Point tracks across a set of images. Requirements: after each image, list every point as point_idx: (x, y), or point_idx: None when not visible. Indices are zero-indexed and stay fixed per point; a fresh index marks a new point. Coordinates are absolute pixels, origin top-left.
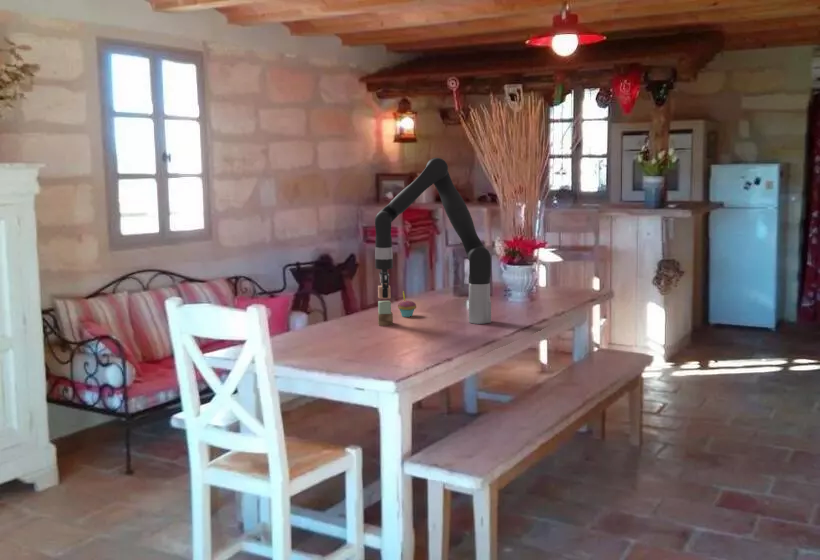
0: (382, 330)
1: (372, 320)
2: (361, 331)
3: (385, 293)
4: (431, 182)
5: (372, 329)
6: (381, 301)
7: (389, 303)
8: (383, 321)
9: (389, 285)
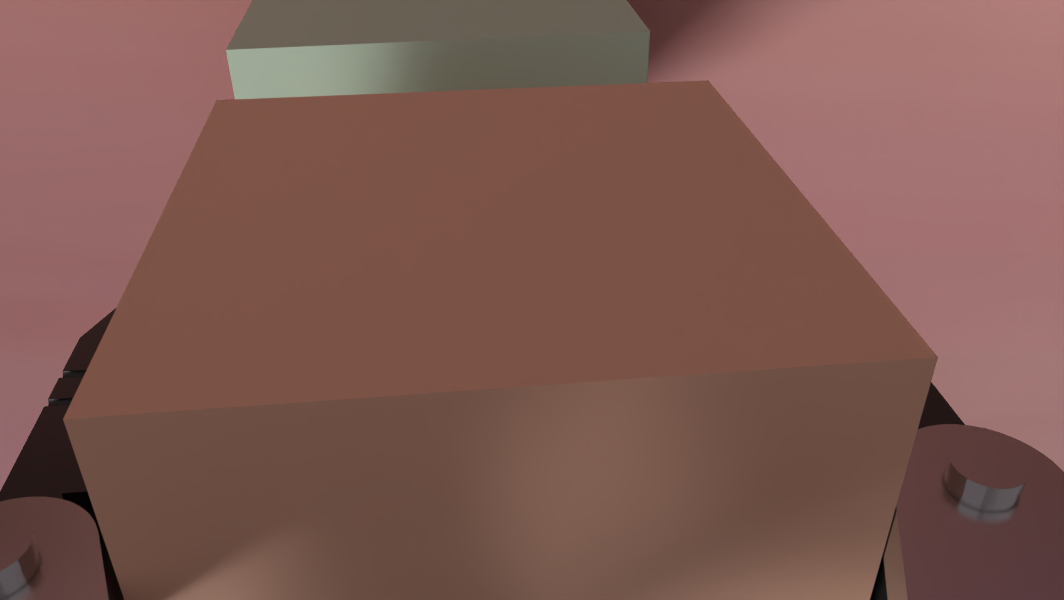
0: (1003, 97)
1: (18, 228)
2: (936, 381)
3: None
4: None
5: (856, 243)
6: None
7: (639, 66)
8: None
9: (199, 413)
